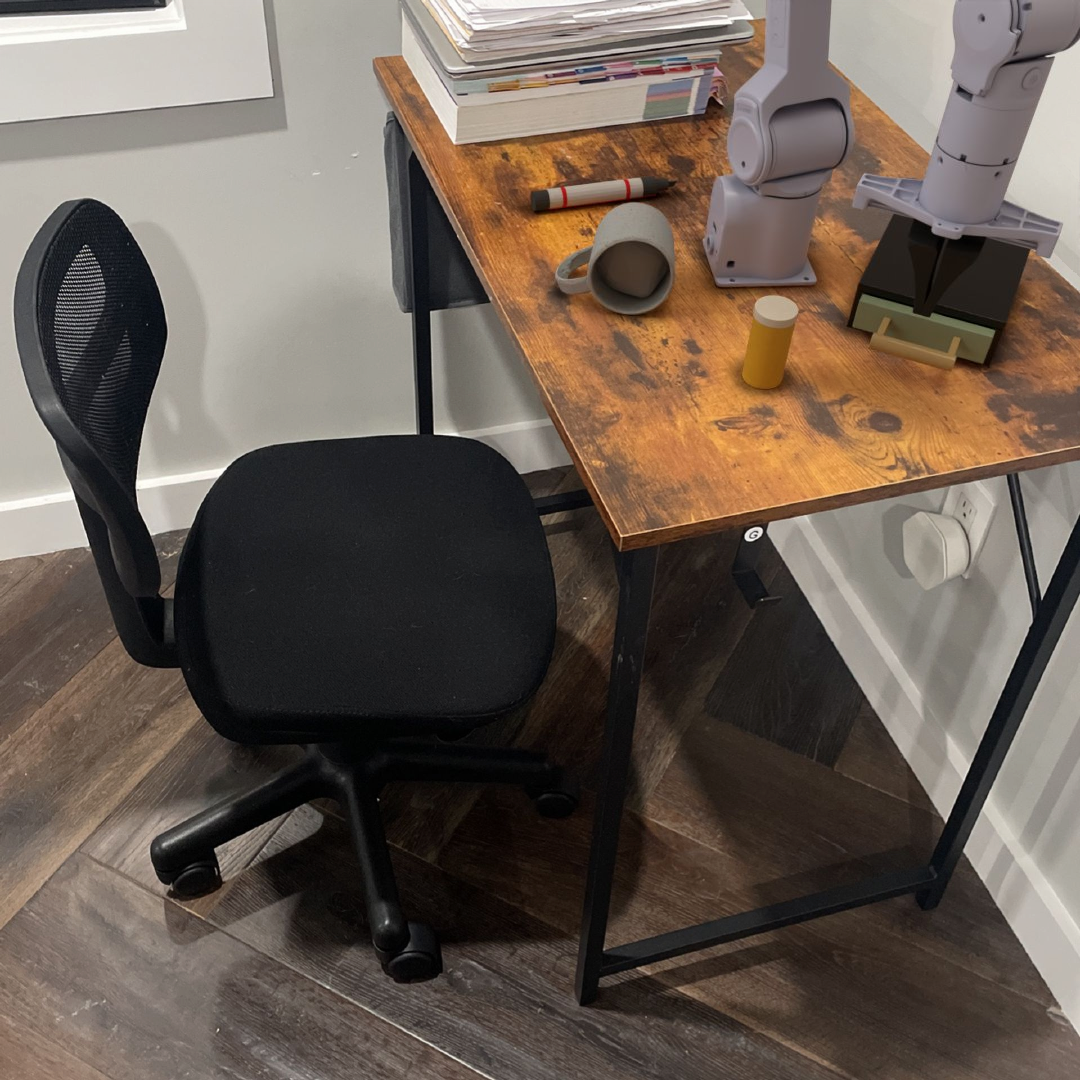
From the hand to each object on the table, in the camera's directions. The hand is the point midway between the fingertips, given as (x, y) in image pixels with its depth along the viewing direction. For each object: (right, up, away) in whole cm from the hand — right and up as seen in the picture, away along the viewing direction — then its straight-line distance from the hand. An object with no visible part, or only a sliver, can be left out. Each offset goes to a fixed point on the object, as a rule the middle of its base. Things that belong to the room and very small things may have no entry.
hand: (923, 308), depth 89 cm
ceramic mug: (-23, +5, +15) cm, 28 cm away
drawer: (+4, +1, +12) cm, 13 cm away
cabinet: (+6, +3, +15) cm, 17 cm away
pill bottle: (-11, -4, +7) cm, 14 cm away
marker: (-23, +16, +27) cm, 39 cm away
